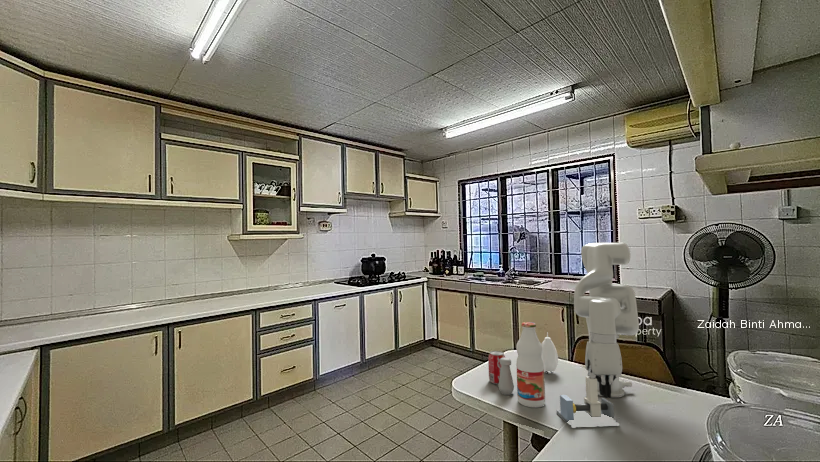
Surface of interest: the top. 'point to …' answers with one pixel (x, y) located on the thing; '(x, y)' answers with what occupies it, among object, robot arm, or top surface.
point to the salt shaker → (505, 377)
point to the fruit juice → (530, 368)
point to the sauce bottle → (549, 355)
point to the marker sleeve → (592, 397)
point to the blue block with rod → (581, 408)
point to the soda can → (495, 366)
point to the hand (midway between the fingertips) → (605, 395)
